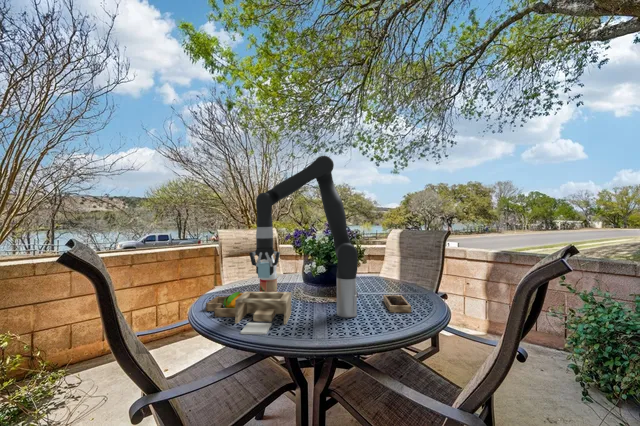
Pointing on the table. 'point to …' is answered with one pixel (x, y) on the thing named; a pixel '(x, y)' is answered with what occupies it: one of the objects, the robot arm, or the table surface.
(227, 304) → the corn
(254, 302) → the frame
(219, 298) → the corn rack
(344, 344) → the table surface
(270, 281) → the fruit juice
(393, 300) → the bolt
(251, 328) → the tile
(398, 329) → the table surface
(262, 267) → the block
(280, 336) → the table surface
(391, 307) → the wooden tray
